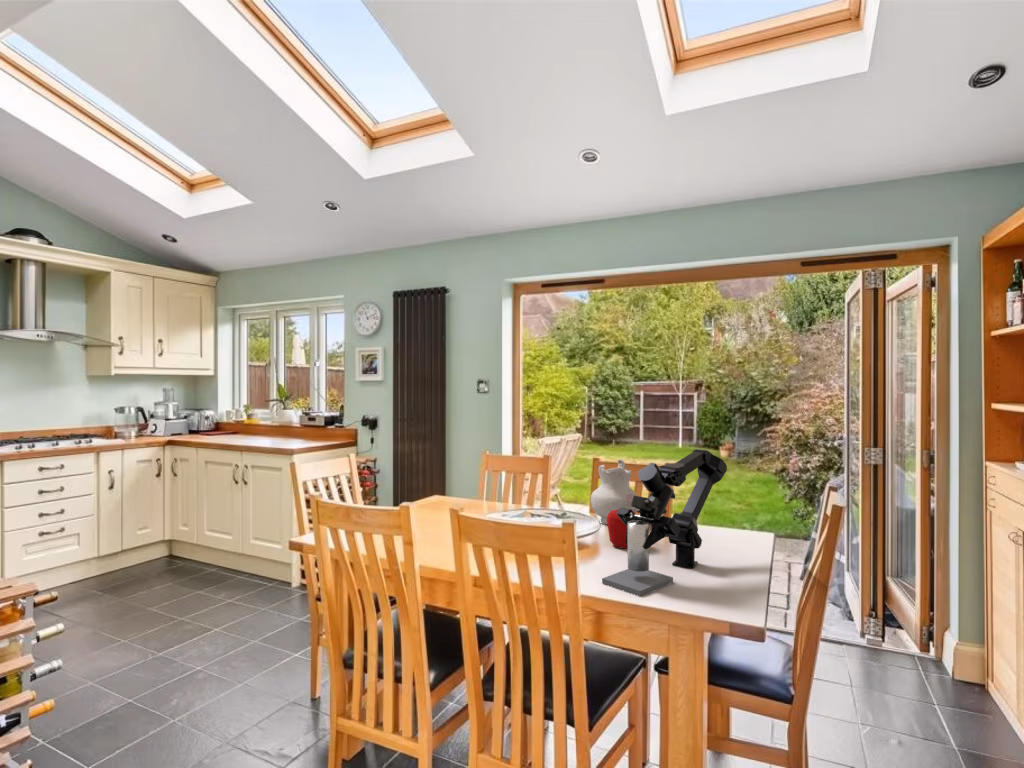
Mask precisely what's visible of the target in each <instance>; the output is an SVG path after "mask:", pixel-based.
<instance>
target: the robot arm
mask: <svg viewBox="0 0 1024 768" xmlns="http://www.w3.org/2000/svg"><path fill="white" fill-rule="evenodd" d="M695 470H697V475H698V479H697V481H696V483H695V484H694V486H693V489H692V491H691V492H690V495H689V498H688V500H687V501H686V503H685V506H684V507H683V510H682V512H681V513H677V512H675V513H673V515H672V517H670V516H667V515H666V514H667V512H668V511H667V509H666V508H667V506H668V504H669V501H670V499H676V494H675V490H674V489H673V488H671V487H680V486H682V485H683V484H684V483H685V481H686V480H687V475H689V474H690V473H692V472H693V471H695ZM727 470H728V467H727V463H726V462H725V460H724V459H722V458H720V457H719V456H717V455H715V454H713V453H712V452H710V451H709V450H707V449H698V448H696V449H694V450H693V451H692V452H691V453H689V454H687V455H686V456H684V457H683V458H681V459H680V460H678V461H677V462H674V463H665V464H663V465H660V466H658V464H656V463H655V462H654V463H653V462H650V463H649V464H648V465H646V466H644V467H643V468H641V469H640V470H639V471H638V474H637V476H638V479H639V480H640V482H641V484H642V485H643V486H644V488H645V489H646V490H647V491H648V492H650V493H649V496H648V497H643V496H639V495H638V496H633V500H632V504H631V506H632V507H635V508H637V510H636V512H637V513H638V514H639V515H638V514H636V513H635V514H636V515H635V514H634V512H633V511H632V509H627V508H623V507H622V508H619V510H618V512H617V515H618V517H619V518H620V519H621V521H622V522H623V523H624V524H625V525H626V527H627V528H626V539H625V543H626V544H627V545H628V521H631V520H641V521H646V522H648V523H649V526H651V530H650V531H649V536H648V538H647V540H646V542H645V545H644V549H648V548H649V549H650V547H652V546H653V545H655V544H656V543H658V542H659V541H662V540H663V539H664V538H668V542H669V544H672V545H675V560H674V561H673V562H672V563H671V565H672V566H676V567H681V568H682V567H683V568H687V569H694V568H695V567H696V566H697V565H698V564H699V562H698V561H696V560H695V559H696V558H695V549H700V547H702V542H703V539H702V537H701V536H700V534H699V533H698V532H699V527H698V523H697V522H698V521H697V520H698V519H699V516H700V514H701V512H702V510H703V507H704V506H705V504H706V501H707V500H708V499H707V498H709V495H710V492H711V491H712V488H713V486H714V485H716V484H718V483H719V482H720V481H721V480H722V479H723V477H724V476H725V474H726V472H727ZM665 515H666V516H665Z"/></svg>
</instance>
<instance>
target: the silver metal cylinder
mask: <svg viewBox="0 0 1024 768" xmlns="http://www.w3.org/2000/svg"><path fill="white" fill-rule="evenodd" d="M649 534H650V525H649V523H648V522H646V521H641V520H631V521H628V548H627V569H630V570H632V571H639V572H642V571H647V570H650V547H649V548H648V549H644V545H645V542H646V540H647V538H648V536H649Z"/></svg>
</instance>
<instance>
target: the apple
mask: <svg viewBox="0 0 1024 768" xmlns="http://www.w3.org/2000/svg"><path fill="white" fill-rule="evenodd" d="M617 512H618V510H612V511H610V512H609V514H608V516H607V531H608V536H609V541H610V542H611V544H612V545H613V546H614V547H615V548H619V549H628V545H627V544H626V543H625V539H626V528H627V527H626V525H625V524H624V523H623V522H622V521H621V519H620V518H619V517H618V515H617ZM633 512H634V511H633ZM634 514H635V515H637V513H636V512H634Z"/></svg>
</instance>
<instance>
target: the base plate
mask: <svg viewBox="0 0 1024 768" xmlns="http://www.w3.org/2000/svg"><path fill="white" fill-rule="evenodd" d="M601 582H602V583H603V585H605V584H606V585H605V586H608V585H609V587H611V586H612V587H611V588H614V587H615V588H614V589H617V588H618V589H617V590H619V589H621V590H620V591H622V590H624V591H623V592H625V591H626V593H628V592H629V594H631V593H632V594H631V595H634V594H635V595H634V596H637V595H638V597H640V596H641V597H642V596H646V595H648V594H650V593H651V592H652V593H653V592H655V591H657V590H660V589H661V587H662V588H664V587H666V586H668V584H669V585H670V583H671V584H674V576H670V575H666V574H663V573H660V572H656V571H653V570H650V569H649V570H647V571H642V572H639V571H632V570H630V569H628V568H627V569H624V570H622V571H619V572H616V573H613V574H610V575H608V576H604V577H602V578H601ZM602 583H601V584H602ZM665 585H666V586H665ZM663 586H664V587H663ZM654 590H655V591H654ZM647 593H648V594H647Z"/></svg>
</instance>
